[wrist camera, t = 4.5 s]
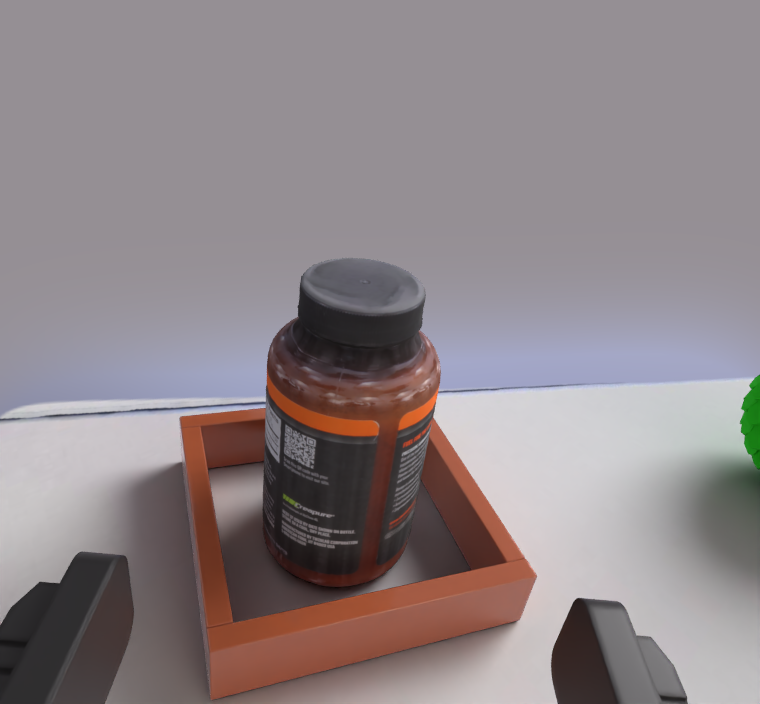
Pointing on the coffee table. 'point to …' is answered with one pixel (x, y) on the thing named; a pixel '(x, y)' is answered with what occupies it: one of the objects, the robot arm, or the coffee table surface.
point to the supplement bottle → (347, 422)
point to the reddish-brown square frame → (354, 614)
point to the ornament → (752, 421)
